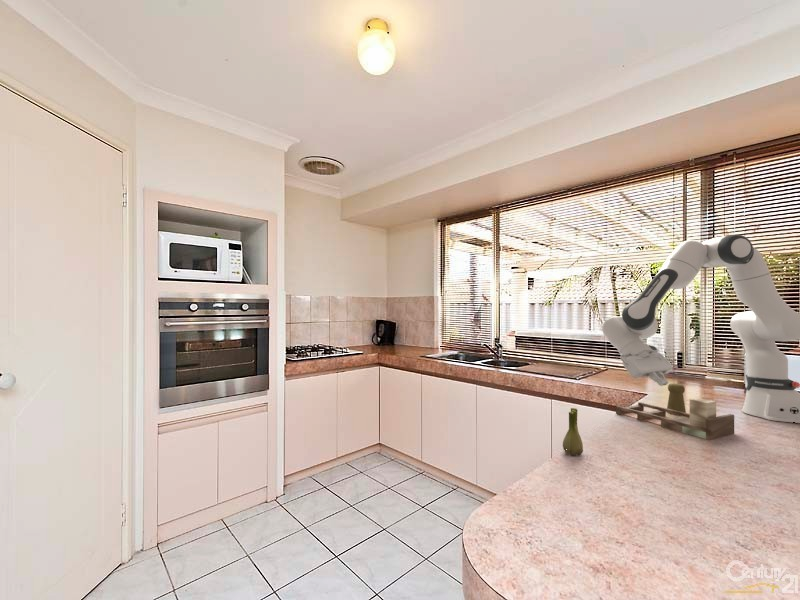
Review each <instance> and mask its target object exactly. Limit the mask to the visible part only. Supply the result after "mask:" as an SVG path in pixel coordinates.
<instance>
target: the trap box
mask: <svg viewBox="0 0 800 600" xmlns="http://www.w3.org/2000/svg"><path fill="white" fill-rule="evenodd" d="M645 408H649V409H653V411H646V410H644V409H645ZM667 412H669V413H668V414H670V413H673V414H672V415H674V414H677V415H676V417H670V416H667ZM615 415H619V416H626V417H628V418H632V419H635V420H637V421H639V420H640V422H647V423H650V424H654V425H657V426H660V428H661V427H662V428H665V429H669V430H673V431H676V432H679V433H683V434H687V435H690V436H694V437H698V438H702V439H705V440H708V441H711V440H714V439H715V440H716V439H720V438H722V437H726V436H727V437H728V436H732V435H735V414H733V413H729V414H725V415H724V414H723V415H719V416H716V417H713V418H708V419H706V428H704V427H700V426H696V425H692V424H690V413H689V412H686V413H684V412H680V411H675V410H671V409H667V408H665V407H661V406H657V405H653V404H650V403H645V402H637V404H636V405H630V406H629V405H628V406H625V407H624V406H620V405H615ZM677 416H678V417H677Z"/></svg>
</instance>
